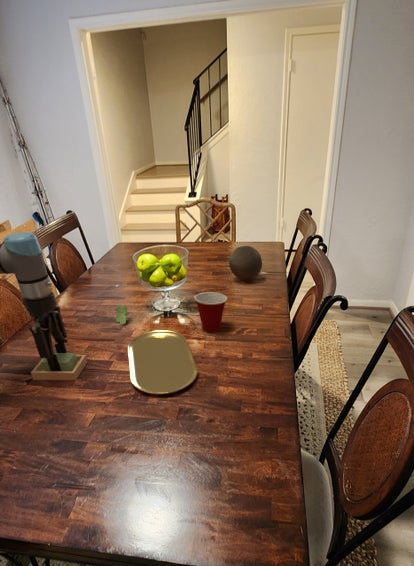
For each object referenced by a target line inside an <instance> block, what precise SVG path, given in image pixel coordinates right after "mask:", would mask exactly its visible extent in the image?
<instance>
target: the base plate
mask: <svg viewBox="0 0 414 566" xmlns="http://www.w3.org/2000/svg"><path fill="white" fill-rule="evenodd" d="M75 357H76V360H77V365H76V366H75V368H74V369H73V371H44V370H43V367H42V364H41V362H42V360H43V359H44V358H41V360H40V361H39V362H38V363H37V364H36V366H35V367H34V368H33V369H32V370H31V372H30V374H31V377H32V380H33V381H77V380H78V378H79V377H80V375H81V373H82V371H83V370H84V368H85V367H86V365H87V364H88V357H87V354H75Z"/></svg>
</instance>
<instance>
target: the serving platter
mask: <svg viewBox="0 0 414 566" xmlns="http://www.w3.org/2000/svg"><path fill="white" fill-rule="evenodd" d="M127 356H128V357H127V358H128V367H129V379H130V383H131V384H132V386H133V387H135V389H137V390H138V391H140V392H142V393H145V394H149V395H153V396H154V395H155V396H156V395H157V396H159V395H160V396H164V395H171V394H174V393H177V392H178V393H179V392H180V391H183V390H185V389H186V388H188V387H189V386H191V384H193V382H194V381H195V380H196V379H197V377H198V373H199V372H198V367H197V363H196V361H195V359H194V356H193V353H192V351H191V348H190V345H189V343H188V340H187V338H186V337H185V336H184V335H183V334H182V333H180V332H177V331H173V330H167V329H164V330H163V329H161V330H158V329H157V330H150V331H147V332H144V333H141V334H139V335H137V336H135V337H134V338H132V339H131V340H130V342H129V343H128V345H127Z"/></svg>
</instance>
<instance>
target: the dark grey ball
mask: <svg viewBox="0 0 414 566" xmlns="http://www.w3.org/2000/svg"><path fill="white" fill-rule="evenodd" d="M228 265H229V269H230V272H231V273H232V274H233V275H234V277H236V278H237V279H238V280H241V281H249V280H253V279H254V278H256V277H257V276H258V275H259V274H260V273H261V270H262V267H263V259H262V256H261V254H260V251H258V250H257V249H256V248H254V247H253V246H250V245H242V246H238V247H236V248H235V249H234V250H233V251H232V252H231V254H230V255H229V259H228Z"/></svg>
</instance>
